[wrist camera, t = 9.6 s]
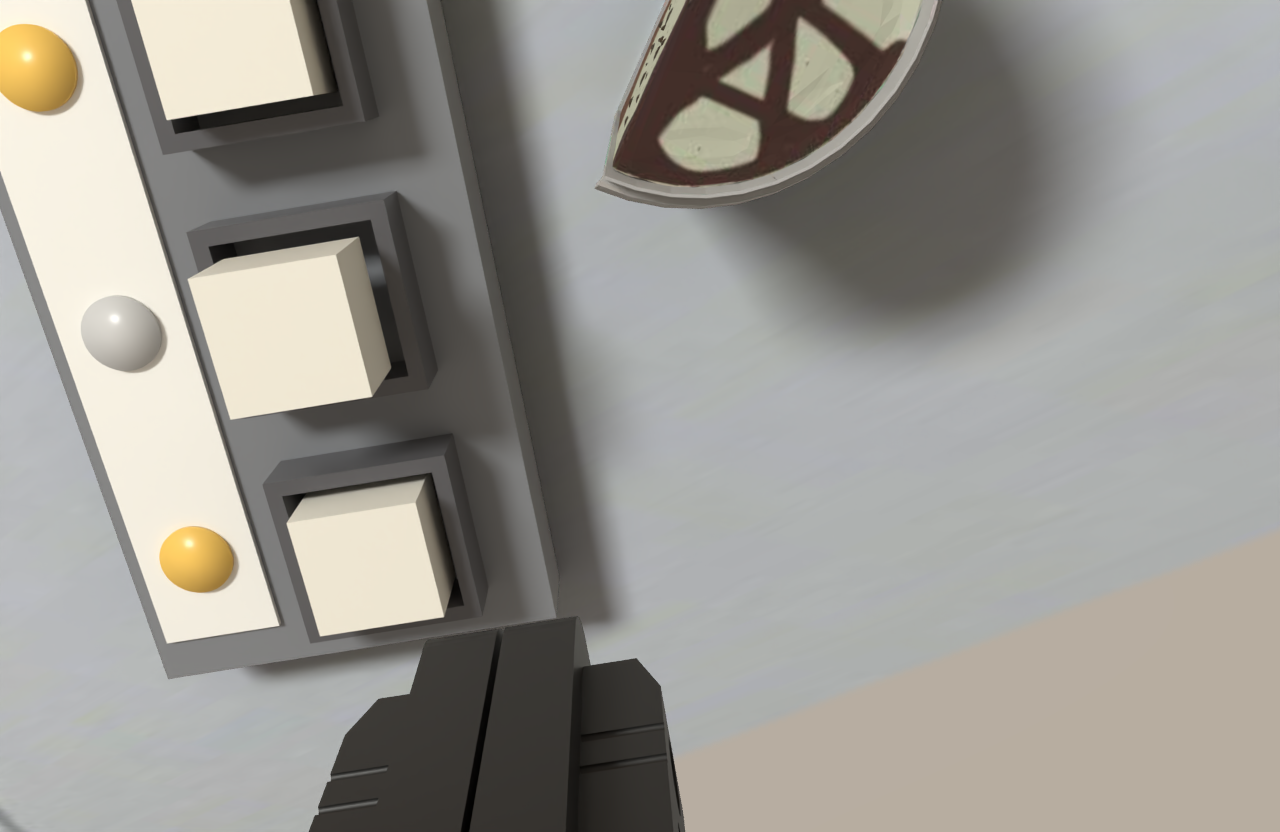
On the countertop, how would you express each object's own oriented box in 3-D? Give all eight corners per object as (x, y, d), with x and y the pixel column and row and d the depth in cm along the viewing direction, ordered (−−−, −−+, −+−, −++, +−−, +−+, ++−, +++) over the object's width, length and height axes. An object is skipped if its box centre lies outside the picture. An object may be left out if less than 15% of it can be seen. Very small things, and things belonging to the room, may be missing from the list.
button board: (409, -152, 32) (375, -187, 27) (559, 577, 40) (553, 648, 36) (-43, -75, 32) (-153, -95, 28) (198, 635, 41) (145, 712, 36)
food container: (761, 234, 36) (816, 301, 27) (596, 158, 35) (593, 198, 26) (941, -130, 33) (1078, -201, 23) (764, -227, 32) (832, -342, 22)
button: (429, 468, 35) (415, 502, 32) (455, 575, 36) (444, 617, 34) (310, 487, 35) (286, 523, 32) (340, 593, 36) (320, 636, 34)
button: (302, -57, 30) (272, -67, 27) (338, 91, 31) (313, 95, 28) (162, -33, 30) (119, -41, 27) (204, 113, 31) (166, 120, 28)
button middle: (358, 236, 31) (335, 254, 28) (391, 367, 32) (372, 396, 29) (223, 259, 31) (187, 279, 28) (261, 388, 32) (230, 419, 29)
